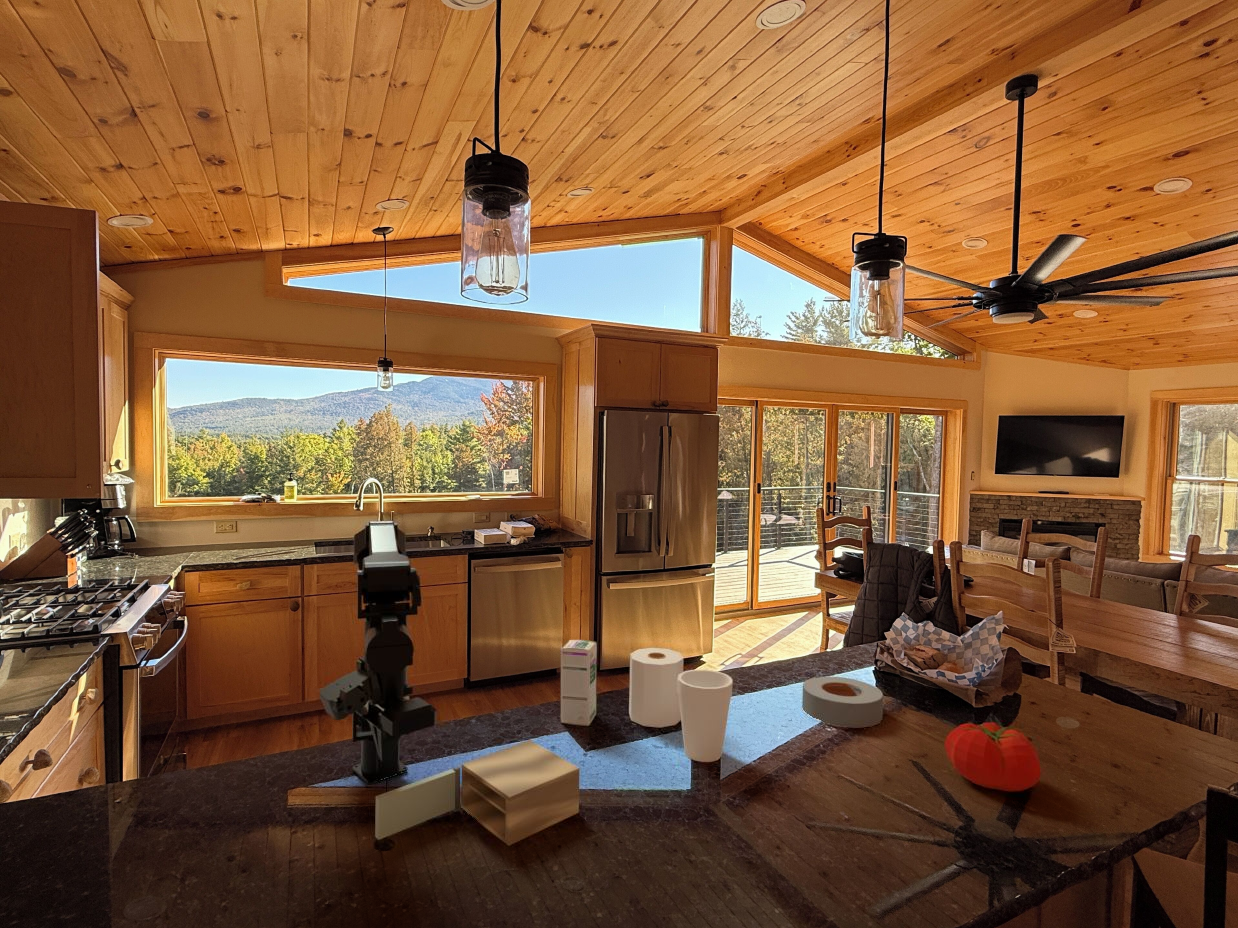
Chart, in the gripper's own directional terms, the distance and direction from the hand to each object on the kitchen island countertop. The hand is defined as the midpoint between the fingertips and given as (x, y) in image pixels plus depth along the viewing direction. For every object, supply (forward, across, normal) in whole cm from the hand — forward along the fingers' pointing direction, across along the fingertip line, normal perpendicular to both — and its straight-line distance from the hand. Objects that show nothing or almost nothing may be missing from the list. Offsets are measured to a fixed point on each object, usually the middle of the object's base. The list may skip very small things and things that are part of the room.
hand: (384, 759), depth 95 cm
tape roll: (+8, +25, +84) cm, 88 cm away
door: (+7, +6, +3) cm, 10 cm away
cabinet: (+8, +12, +15) cm, 20 cm away
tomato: (+8, +55, +77) cm, 95 cm away
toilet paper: (+8, +2, +54) cm, 55 cm away
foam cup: (+8, +18, +49) cm, 53 cm away
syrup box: (+8, -7, +42) cm, 43 cm away
